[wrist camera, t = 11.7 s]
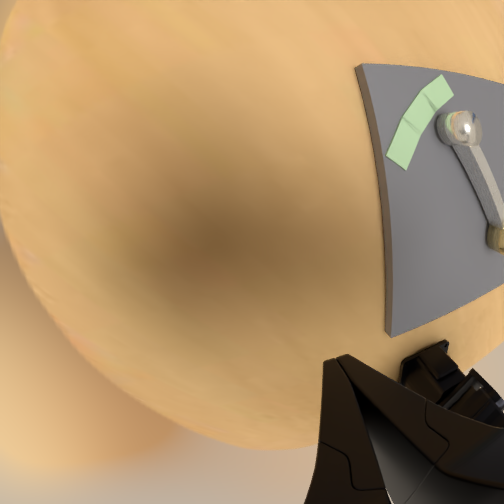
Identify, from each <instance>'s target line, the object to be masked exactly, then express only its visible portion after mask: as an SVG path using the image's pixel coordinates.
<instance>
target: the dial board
mask: <svg viewBox="0 0 504 504" xmlns="http://www.w3.org/2000/svg"><path fill="white" fill-rule="evenodd" d="M355 71H356V74H357V78H358V82H359V85H360V89H361V93H362V97H363V101H364V105H365V110H366V114H367V118H368V123H369V128H370V133H371V138H372V143H373V149H374V155H375V161H376V167H377V174H378V181H379V189H380V197H381V207H382V217H383V229H384V244H385V266H386V319H385V332H386V333H387V334H388V335H389V336H390V338H392V337H395V336H397V335H400V334H402V333H405V332H407V331H410V330H412V329H414V328H417V327H419V326H421V325H424V324H426V323H428V322H430V321H433V320H435V319H437V318H439V317H441V316H443V315H446V314H448V313H450V312H452V311H454V310H456V309H458V308H460V307H462V306H464V305H466V304H468V303H469V302H471V301H473V300H475V299H477V298H479V297H481V296H482V295H484V294H486V293H488V292H490V291H491V290H493V289H495V288H497V287H498V286H500V285H502V284H503V283H504V255H502V254H500V253H498V252H496V251H494V250H492V249H490V248H489V246H488V241H487V235H488V229H489V225H490V224H489V221H488V219H487V216H486V214H485V211H484V209H483V206H482V204H481V202H480V199H479V197H478V195H477V193H476V191H475V188H474V186H473V184H472V182H471V180H470V178H469V176H468V174H467V172H466V170H465V168H464V166H463V164H462V162H461V161H460V159H459V157H458V155H457V153H456V152H455V150H454V148H453V146H452V145H447V144H445V143H444V142H443V141H442V140H441V138H440V136H439V134H438V130H437V120H438V117H439V116H440V115H441V114H442V113H449V112H459V111H472V112H473V113H474V114H475V115H476V116H477V117H478V119H479V121H480V123H481V127H482V139H481V142H480V144H479V146H480V148H481V150H482V152H483V154H484V156H485V158H486V160H487V163H488V165H489V167H490V169H491V172H492V174H493V177H494V179H495V181H496V184H497V186H498V189H499V192H500V194H501V197H502V200H503V203H504V84H501V83H497V82H494V81H490V80H486V79H482V78H478V77H474V76H469V75H465V74H460V73H455V72H449V71H443V70H437V69H430V68H422V67H413V66H403V65H389V64H360V65H359V66H357V67H356V68H355Z"/></svg>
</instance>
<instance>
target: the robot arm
mask: <svg viewBox="0 0 504 504" xmlns="http://www.w3.org/2000/svg"><path fill="white" fill-rule="evenodd" d="M448 346H449V342H448V341H447V340H444V341H442V342H441V343H439V344H437V345H434V346H432V347H430V348H428V349H426V350H424V351H422V352H420V353H418V354H415V355H413V356H411V357H409V358H406V359H405V360H403V362H402V364H401V370H400V376H399V382H398V383H397V382H395V381H394V380H392V379H390V378H388V377H387V376H385V375H383V374H381V373H380V372H378V371H376V370H375V369H373V368H371V367H369V366H368V365H366V364H364V363H363V362H361V361H359V360H358V359H356V358H354V357H353V356H351V355H349V354H345V355H342V356H339V357H337V358H336V359H335V358H332V359H329V360H326V361H324V362H323V379H322V399H321V414H320V427H319V439H318V448H317V457H316V463H315V469H314V473H313V476H312V480H311V484H310V487H309V490H308V493H307V497H306V499H305V502H304V504H391V501H390V499H389V497H388V494H387V491H388V493H389V495H390V497H391V499H392V501H393V503H394V504H504V413H503V410H504V400H503V399H502V398H501V397H500V396H499V394H498V393H497V392H496V391H495V390H494V389H493V388H492V387H491V386H490V385H489V384H488V383H487V382H486V381H485V380H484V379H483V378H482V377H481V376H480V375H479V374H478V373H477V372H476V371H475V370H474V369H473V368H472V369H471V370H470V371H469V374H468V375H467V376H465V375H464V374H463V373H462V372H461V370H460V369H459V368H458V365H457V364H456V363H455V362H454V361H453V360H452V359H451V358H450V357H449V356H448V355H447V350H448ZM480 387H481V388H480ZM386 489H387V490H386Z"/></svg>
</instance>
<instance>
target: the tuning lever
mask: <svg viewBox="0 0 504 504" xmlns="http://www.w3.org/2000/svg"><path fill="white" fill-rule="evenodd" d="M437 130H438V134H439V136H440V138H441V140H442V141H443V142H444V143H445V144H447V145H452V146H453V148H454V150H455V152H456V153H457V155H458V157H459V159H460V161H461V162H462V164H463V166H464V168H465V170H466V172H467V174H468V176H469V178H470V180H471V182H472V184H473V186H474V188H475V191H476V193H477V195H478V197H479V199H480V202H481V204H482V206H483V209H484V211H485V214H486V216H487V219H488V221H489V224H490V225H489V229H488V235H487V241H488V246H489V248H490V249H492V250H494V251H496V252H498V253H500V254H502V255H504V203H503V200H502V197H501V194H500V192H499V189H498V186H497V184H496V181H495V179H494V177H493V174H492V172H491V169H490V167H489V165H488V163H487V160H486V158H485V156H484V154H483V152H482V150H481V148H480V146H479V144H480V142H481V139H482V127H481V123H480V121H479V119H478V117H477V116H476V115H475V114H474V113H473V112H472V111H459V112H449V113H442V114H441V115H440V116H439V117H438V120H437Z"/></svg>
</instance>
